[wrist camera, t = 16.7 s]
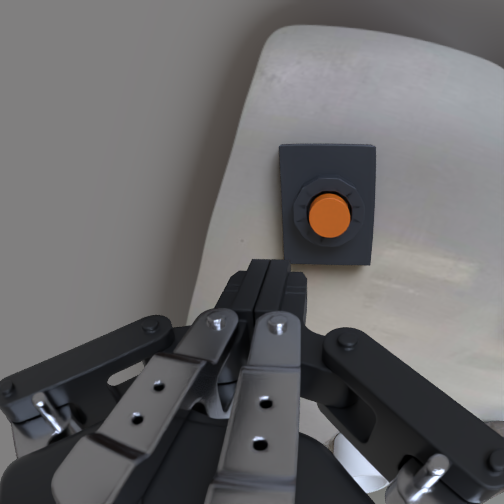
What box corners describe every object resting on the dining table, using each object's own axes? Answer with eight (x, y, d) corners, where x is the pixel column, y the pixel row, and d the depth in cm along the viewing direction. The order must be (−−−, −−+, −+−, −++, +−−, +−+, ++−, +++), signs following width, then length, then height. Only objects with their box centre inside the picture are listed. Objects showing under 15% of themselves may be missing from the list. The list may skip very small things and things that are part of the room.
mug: (346, 421, 44) (344, 472, 35) (396, 426, 43) (400, 474, 34) (322, 452, 50) (317, 496, 40) (367, 457, 48) (367, 499, 39)
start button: (309, 193, 27) (308, 198, 25) (349, 193, 26) (350, 198, 24) (309, 230, 28) (309, 237, 27) (347, 231, 27) (349, 238, 26)
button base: (281, 144, 29) (276, 147, 25) (371, 144, 27) (379, 148, 23) (286, 254, 34) (281, 272, 30) (367, 256, 32) (372, 273, 28)
